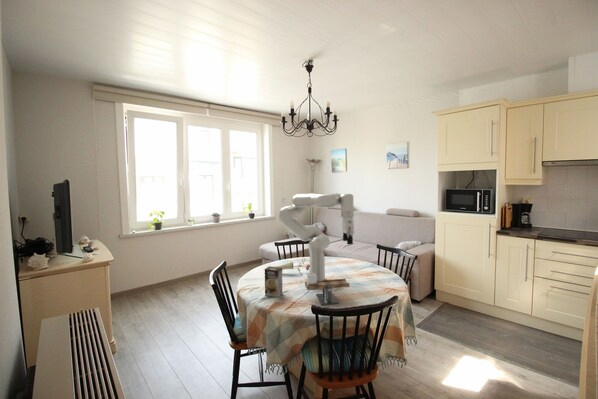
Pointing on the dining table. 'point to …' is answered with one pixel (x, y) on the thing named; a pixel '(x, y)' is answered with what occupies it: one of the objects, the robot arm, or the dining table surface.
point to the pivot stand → (327, 297)
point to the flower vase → (291, 266)
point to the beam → (324, 283)
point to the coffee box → (273, 281)
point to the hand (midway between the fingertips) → (347, 242)
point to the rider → (311, 279)
